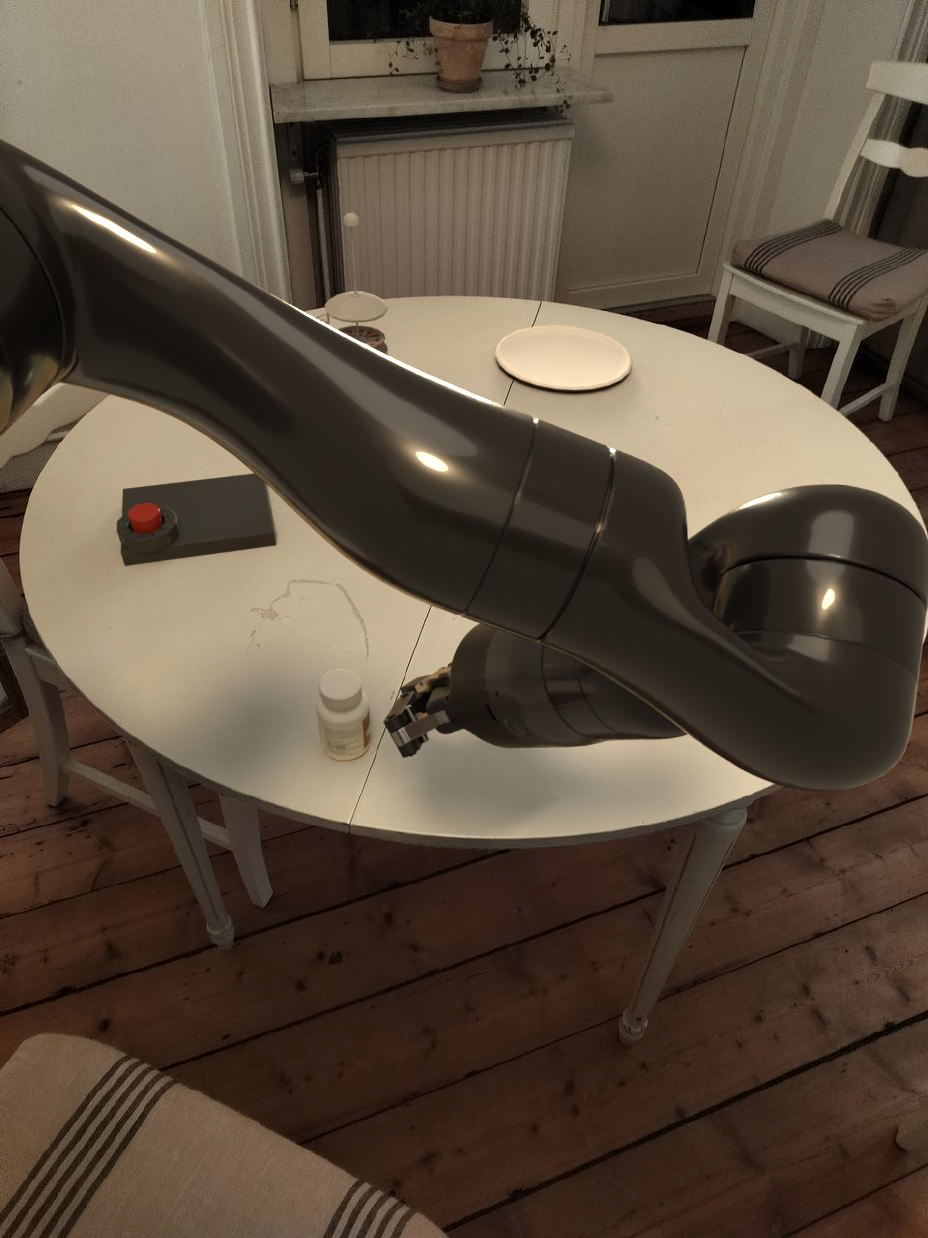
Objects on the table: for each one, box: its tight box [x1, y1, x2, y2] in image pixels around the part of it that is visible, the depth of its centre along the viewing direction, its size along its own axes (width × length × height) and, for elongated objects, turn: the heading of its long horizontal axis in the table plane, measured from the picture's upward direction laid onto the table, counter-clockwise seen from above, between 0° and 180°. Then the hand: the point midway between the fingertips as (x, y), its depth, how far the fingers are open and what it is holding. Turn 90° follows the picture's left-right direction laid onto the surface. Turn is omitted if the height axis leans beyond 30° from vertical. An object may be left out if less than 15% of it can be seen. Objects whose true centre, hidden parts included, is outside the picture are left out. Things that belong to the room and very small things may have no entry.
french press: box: [315, 212, 389, 356], centre depth 107 cm, size 10×12×25 cm
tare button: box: [128, 503, 163, 533], centre depth 89 cm, size 3×3×2 cm
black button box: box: [116, 472, 277, 567], centre depth 93 cm, size 16×12×4 cm
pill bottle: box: [315, 668, 372, 762], centre depth 70 cm, size 4×4×8 cm
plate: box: [494, 324, 633, 392], centre depth 126 cm, size 21×21×1 cm
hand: (413, 696), depth 59 cm, fingers closed
